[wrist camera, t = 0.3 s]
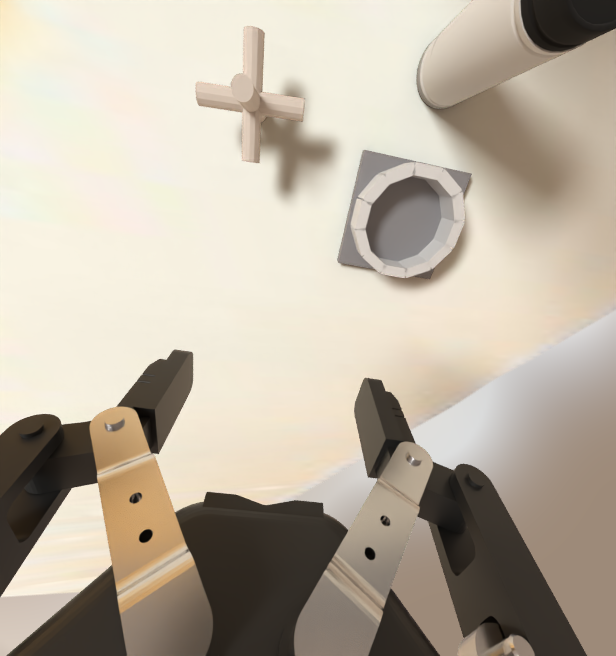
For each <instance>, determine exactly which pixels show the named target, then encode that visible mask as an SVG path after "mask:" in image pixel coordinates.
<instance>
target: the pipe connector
mask: <svg viewBox="0 0 616 656" xmlns="http://www.w3.org/2000/svg"><path fill="white" fill-rule="evenodd" d="M264 34H265V33H264V32H263V30H261V29H259V28H256V27H253V26H246V27H244V40H243V74H237V75H235V76H234V78H233V79H232V82H231V87H229V86H223V85H216V84H210V83H204V82H196V99H197V103H198V105H199V106H204V107H211V108H217V109H224V110H230V111H237V112H242V161H247V162H254V163H259V161H260V136H261V122H263V121H264V120H265V119H266V116H269V117H275V118H282V119H288V120H295V121H301V122H303V113H304V102H305V99H303V98H297V97H291V96H285V95H279V94H272V93H266V92H262V85H263V60H264Z"/></svg>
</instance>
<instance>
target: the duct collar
mask: <svg viewBox="0 0 616 656" xmlns="http://www.w3.org/2000/svg"><path fill="white" fill-rule="evenodd" d="M471 175H472V174H470V173H466V172H461V171H457V170H452V169H448V168H443V167H439V166H434V165H430V164H425V163H421V162H416V161H412V160H407V159H403V158H398V157H394V156H390V155H385V154H381V153H376V152H372V151H367V150H364V151H363V152H362V157H361V161H360V165H359V169H358V174H357V178H356V182H355V186H354V191H353V195H352V199H351V204H350V208H349V212H348V216H347V221H346V225H345V229H344V233H343V238H342V242H341V246H340V251H339V255H338V259H337V261H338V263H343V264H348V265H354V266H359V267H365V268H371V269H375V270H377V271H378V272H379V273H381V274H384V275H389V276H395V277H400V278H405V277H406V278H408V277H411V276H415V277H420V278H426V279H430V278H431V275H432V273H433V270H434V268H435V266H436V265H437V264H438V263H439V262H440V261H442V260H443V259H444V258H445V257H446V256H447V255H448V254H449V253H450V252H451V251H452V248H454V247H455V245H456V242H457V240H458V237H459V235H460V233H461V230H462V228H463V225H464V223H465V221H463V220H465V210H464V198H463V195H464V192H465V190H466V187H467V185H468V182H469V180H470V177H471Z"/></svg>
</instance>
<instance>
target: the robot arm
mask: <svg viewBox="0 0 616 656" xmlns="http://www.w3.org/2000/svg"><path fill="white" fill-rule="evenodd" d="M192 383H193V353H192V352H188V351H181V350H173V352H172V353H171V354H170V356H169V357H168V359H167V360H164V359H159V360H157V361H155V362H154V363H152V364H150V365H149V366H148V367H147V369H146V370H145V371H144V372H143V375H141V376H140V378H139V379H138V380H137V382H136V383H135V384H134V385H133V386H132V388H131V389H130V390H129V392H128V393H127V394H126V395H125V397H124V398H123V399H122V400H121V402H120V403H119V404H118V405H117V407H114V408H110V409H107V410H105V411H103V412H101V413H99V414H98V415H97V416H96V417H95V418H94V419H93V420H92V421H88V422H81V423H72V424H64V425H62V424H61V421H60V419H59V418H58V417H56V416H54V415H50V414H39V415H34V416H30V417H27V418H24V419H22V420H20V421H18V422H16V423H14V424H13V425H11V426H10V427H9V428H7V429H6V430H5V431H4V432H3V433H2V434H1V435H0V597H1V595H2V594H3V592H4V591H5V589H6V588H7V586H8V585H9V583H10V582H11V580H12V579H13V577H14V575H15V574H16V572H17V571H18V569H19V568H20V566H21V565H22V563H23V562H24V560H25V559H26V557H27V556H28V554H29V553H30V551H31V550H32V548H33V546H34V545H35V543H36V542H37V540H38V539H39V537H40V536H41V534H42V533H43V531H44V530H45V528H46V527H47V525H48V524H49V522H50V521H51V519H52V517H53V516H54V514H55V513H56V511H57V510H58V508H59V507H60V505H61V504H62V502H63V501H64V499H65V498H66V496H67V495H68V493H69V492H70V490H71V488H74V487H79V486H84V485H89V484H94V483H98V486H99V492H100V497H101V503H102V509H103V515H104V520H105V526H106V532H107V538H108V543H109V549H110V555H111V561H112V566H110V567H109V568H108V569H107V570H106V571H105V572H103V573H102V574H101V575H100V576H99V577H98V578H96V579H95V580H94V581H93V582H92V583H91V584H89V585H88V586H87V587H86V588H85V589H84V590H82V591H81V592H80V593H79V594H78V595H77V596H75V597H74V598H73V599H72V600H71V601H70V602H68V603H67V604H66V605H65V606H64V607H63V608H61V609H60V610H59V611H58V612H57V613H56V614H54V615H53V616H52V617H51V618H50V619H49V620H47V621H46V622H45V623H44V624H43V625H42V626H40V627H39V628H38V629H37V630H36V631H35V632H33V633H32V634H31V635H30V636H29V637H28V638H27V639H25V640H24V641H23V642H22V643H21V644H19V645H18V646H17V647H16V648H15V649H14V650H13V651H11V652H10V653H9V654H8V655H7V656H440V655H439V654H438V653H437V651H436V650H435V648H434V647H433V646H432V644H431V643H430V641H429V640H428V639H427V637H426V636H425V634H424V633H423V632H422V630H421V629H420V627H419V626H418V625H417V623H416V622H415V621H414V619H413V618H412V616H411V615H410V614H409V612H408V611H407V610H406V608H405V607H404V606H403V604H402V603H401V601H400V600H399V599H398V597H397V596H396V594H395V593H394V592H393V590H392V589H391V586H392V583H393V580H394V578H395V575H396V572H397V569H398V567H399V564H400V561H401V559H402V556H403V553H404V550H405V548H406V545H407V543H408V540H409V537H410V534H411V532H412V529H413V526H414V524H415V521H416V518H417V516H418V517H420V518H422V519H424V520H427V521H428V522H429V526H430V529H431V532H432V536H433V539H434V542H435V545H436V549H437V552H438V555H439V559H440V562H441V565H442V568H443V572H444V575H445V578H446V581H447V585H448V588H449V591H450V595H451V598H452V601H453V604H454V607H455V611H456V614H457V618H458V621H459V624H460V627H461V631H462V634H463V637H464V639H463V640H462V641H461V642H460V644H459V647H458V656H587V655H586V653H585V651H584V649H583V648H582V646H581V644H580V642H579V640H578V638H577V637H576V635H575V633H574V631H573V629H572V627H571V626H570V624H569V622H568V620H567V618H566V617H565V615H564V613H563V611H562V610H561V608H560V606H559V604H558V602H557V600H556V598H555V597H554V595H553V593H552V591H551V589H550V588H549V586H548V584H547V582H546V580H545V578H544V577H543V575H542V573H541V571H540V569H539V568H538V566H537V564H536V562H535V560H534V559H533V557H532V555H531V553H530V551H529V549H528V548H527V546H526V544H525V542H524V540H523V538H522V537H521V535H520V533H519V531H518V530H517V528H516V526H515V524H514V522H513V520H512V518H511V517H510V515H509V513H508V511H507V510H506V508H505V506H504V504H503V502H502V501H501V499H500V497H499V495H498V493H497V491H496V489H495V488H494V486H493V484H492V482H491V481H490V480H489V478H488V477H487V476H486V475H485V474H484V473H483V472H481V471H480V470H479V469H477V468H475V467H473V466H471V465H468V464H460V465H458V466H457V467H456V468H455V470H451V469H449V468H446V467H444V466H441V465H439V464H436V463H434V462H433V461H432V459H431V457H430V455H429V454H428V453H427V451H426V450H425V449H423V448H422V447H420V446H419V445H417V444H416V443H415V441H414V438H413V436H412V434H411V431H410V429H409V426H408V424H407V421H406V419H405V418H404V414H403V412H402V411H401V407H400V404H399V402H398V400H397V399H396V398H395V397H394V396H393V394H392V393H391V392H386V391H385V388H384V386H383V383H382V381H381V380H377V379H370V378H365V379H364V380H363V382H362V385H361V388H360V391H359V393H358V396H357V399H356V402H355V408H354V413H355V419H356V423H357V428H358V433H359V438H360V442H361V447H362V452H363V456H364V461H365V466H366V470H367V475H368V477H370V478H377V482H376V484H375V486H374V487H373V489H372V490H371V492H370V494H369V496H368V497H367V499H366V501H365V503H364V504H363V506H362V508H361V510H360V511H359V513H358V515H357V517H356V518H355V520H354V522H353V524H352V525H351V527H350V529H349V531H348V530H347V528H346V527H345V526H343V525H342V524H341V523H340V522H339V521H337V520H336V519H334V518H333V517H331V516H329V515H327V514H325V513H323V503H317V502H307V501H296V500H295V501H289V502H284V503H278V504H272V505H262V504H259V503H257V502H254V501H251V500H249V499H246V498H243V497H241V496H238V495H234V494H224V493H213V492H207V493H206V496H205V499H204V502H199V503H196V504H192V505H189V506H187V507H185V508H182V509H181V510H179V511H177V512H174V509H173V506H172V503H171V500H170V497H169V495H168V492H167V489H166V486H165V483H164V480H163V478H162V475H161V472H160V469H159V466H158V463H157V461H156V458H155V455H154V454H153V453H155V454H159V452H160V450H161V448H162V446H163V444H164V442H165V440H166V438H167V436H168V434H169V433H170V431H171V429H172V427H173V425H174V423H175V421H176V419H177V417H178V415H179V413H180V411H181V409H182V407H183V405H184V403H185V401H186V399H187V397H188V395H189V393H190V391H191V388H192Z"/></svg>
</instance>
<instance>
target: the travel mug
mask: <svg viewBox="0 0 616 656" xmlns="http://www.w3.org/2000/svg"><path fill="white" fill-rule="evenodd" d="M615 28H616V0H472V1H471V2H470V3H469V4H468V5H467V6H466V7H465V8H464V9H463V10H462V11H461V12H460V13H459V14H458V15H457V16H456V18H455V19H454V20H453V21H452V22H451V23H450V24H449V25H448V26H447V27H446V28H445V29H444V30H443V31H442V32H441V33H440V34H439V35H438V36H437V37H436V38H435V39H434V40H433V41H432V42H431V43H430V45H429V46H428V47H427V48H426V50H425V51H424V53H423V55H422V57H421V59H420V62H419V65H418V69H417V88H418V92H419V94H420V96H421V98H422V100H423V101H424V102H425V103H426V104H427V105H429V106H430V107H432V108H436V109H444V108H448V107H451V106H453V105H455V104H457V103H459V102H461V101H464V100H466V99H468V98H470V97H472V96H474V95H476V94H479V93H481V92H483V91H485V90H487V89H489V88H491V87H494V86H496V85H498V84H500V83H502V82H504V81H506V80H509V79H511V78H513V77H515V76H517V75H519V74H522V73H524V72H526V71H528V70H530V69H532V68H534V67H537V66H539V65H541V64H543V63H545V62H547V61H549V60H552V59H554V58H556V57H558V56H560V55H562V54H564V53H566V52H569V51H571V50H573V49H575V48H577V47H579V46H581V45H583V44H584V43H586V42H588V41H590V40H592V39H594V38H596V37H598V36H600V35H603V34H605V33H607V32H609V31H611V30H613V29H615Z"/></svg>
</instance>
